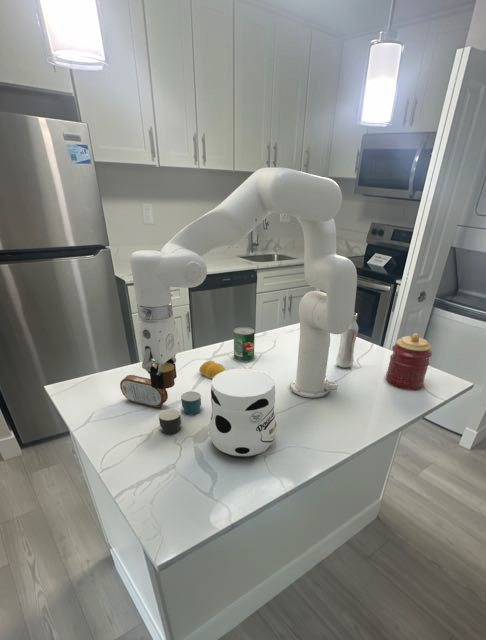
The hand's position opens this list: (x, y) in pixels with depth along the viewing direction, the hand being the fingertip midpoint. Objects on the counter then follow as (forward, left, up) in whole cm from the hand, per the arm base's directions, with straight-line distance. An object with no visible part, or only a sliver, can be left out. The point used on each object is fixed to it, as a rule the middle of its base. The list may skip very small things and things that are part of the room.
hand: (164, 381), depth 95 cm
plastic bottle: (-41, -59, -15) cm, 73 cm away
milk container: (-21, -1, -15) cm, 26 cm away
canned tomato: (-3, -53, -15) cm, 55 cm away
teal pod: (-1, -11, -15) cm, 18 cm away
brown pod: (0, 0, -1) cm, 1 cm away
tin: (+14, -10, -15) cm, 23 cm away
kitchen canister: (-63, -53, -15) cm, 84 cm away
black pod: (0, 0, -15) cm, 15 cm away
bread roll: (+3, -36, -15) cm, 39 cm away
